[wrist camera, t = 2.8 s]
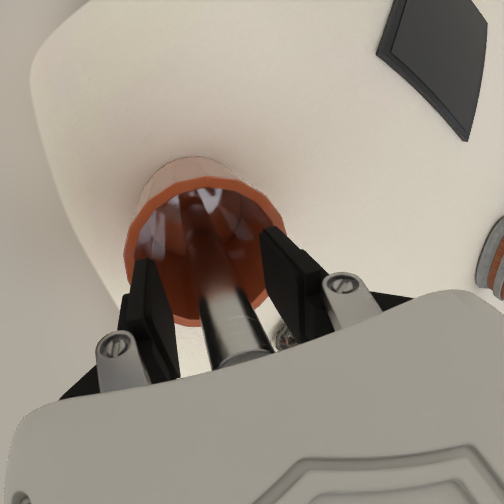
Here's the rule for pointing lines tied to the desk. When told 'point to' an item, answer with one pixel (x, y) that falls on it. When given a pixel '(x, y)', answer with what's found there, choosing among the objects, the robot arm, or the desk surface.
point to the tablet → (439, 54)
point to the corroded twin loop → (284, 339)
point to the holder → (223, 218)
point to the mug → (492, 262)
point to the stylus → (220, 296)
